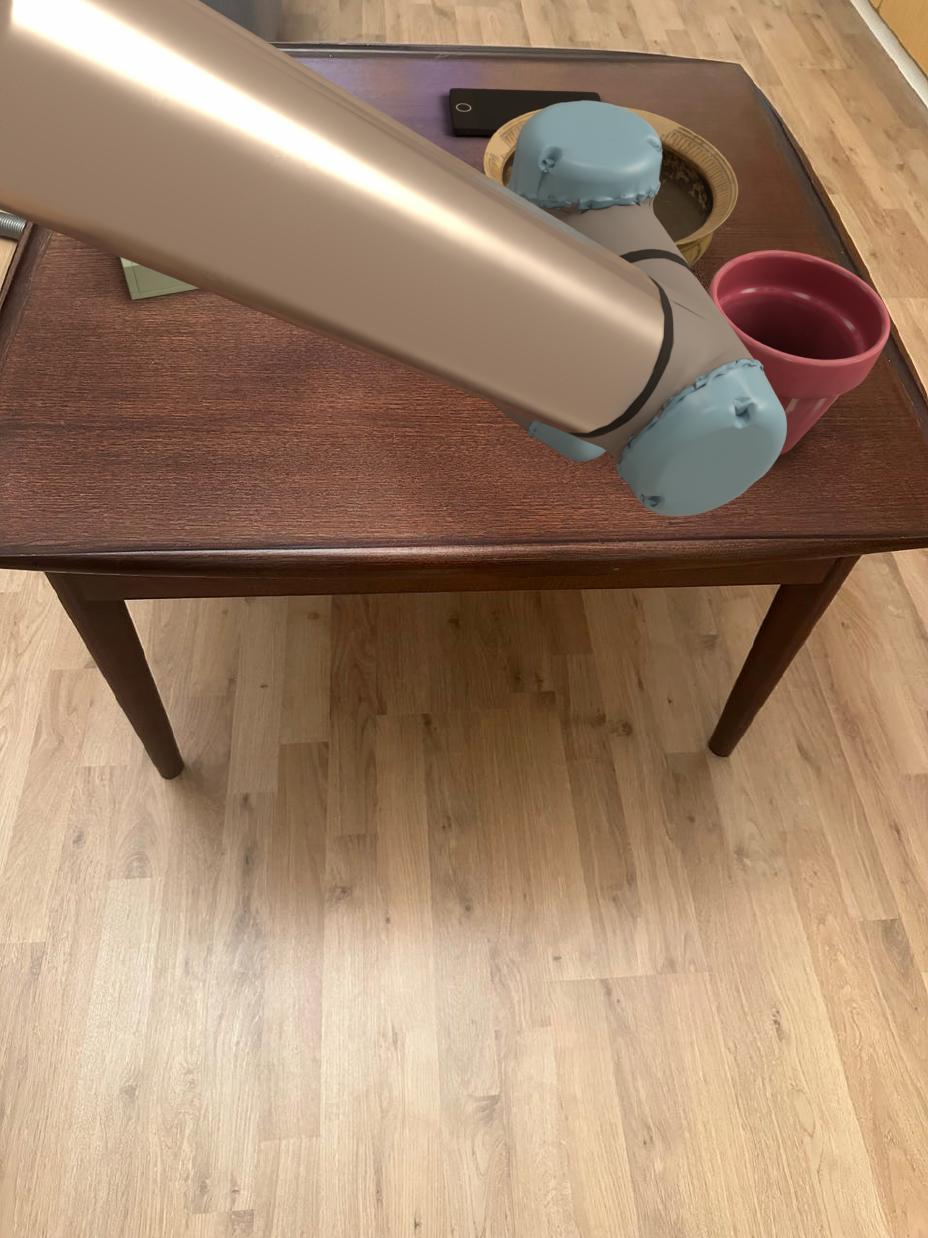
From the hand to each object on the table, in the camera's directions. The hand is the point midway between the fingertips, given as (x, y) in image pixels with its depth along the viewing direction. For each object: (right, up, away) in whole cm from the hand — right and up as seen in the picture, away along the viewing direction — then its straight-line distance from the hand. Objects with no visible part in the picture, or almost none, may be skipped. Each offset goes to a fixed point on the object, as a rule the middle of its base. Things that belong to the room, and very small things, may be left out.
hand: (230, 147), depth 71 cm
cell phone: (+25, +23, +39) cm, 52 cm away
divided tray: (-8, +3, +23) cm, 25 cm away
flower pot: (+43, -18, +13) cm, 49 cm away
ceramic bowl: (+31, +1, +25) cm, 39 cm away
